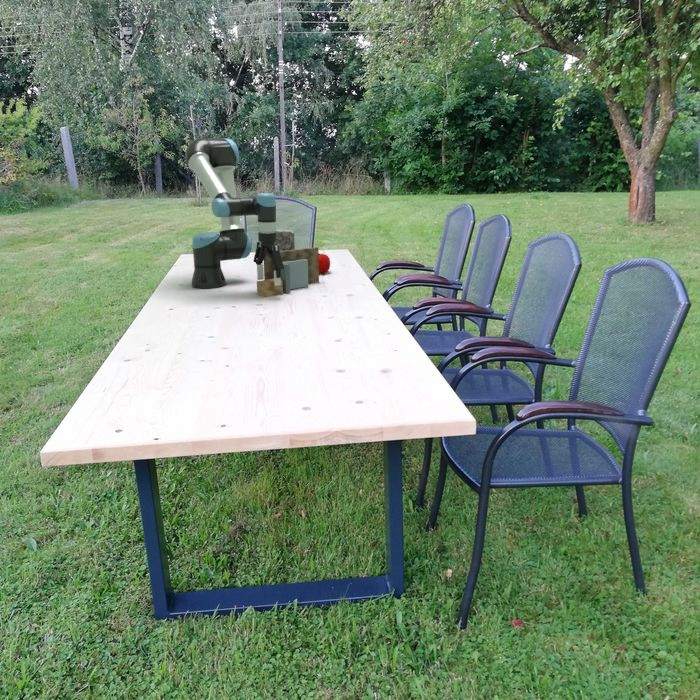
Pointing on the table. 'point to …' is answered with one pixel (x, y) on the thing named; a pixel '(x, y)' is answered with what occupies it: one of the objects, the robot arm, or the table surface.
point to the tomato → (323, 263)
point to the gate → (294, 274)
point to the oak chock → (268, 288)
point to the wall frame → (297, 254)
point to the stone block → (285, 240)
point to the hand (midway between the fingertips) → (268, 282)
